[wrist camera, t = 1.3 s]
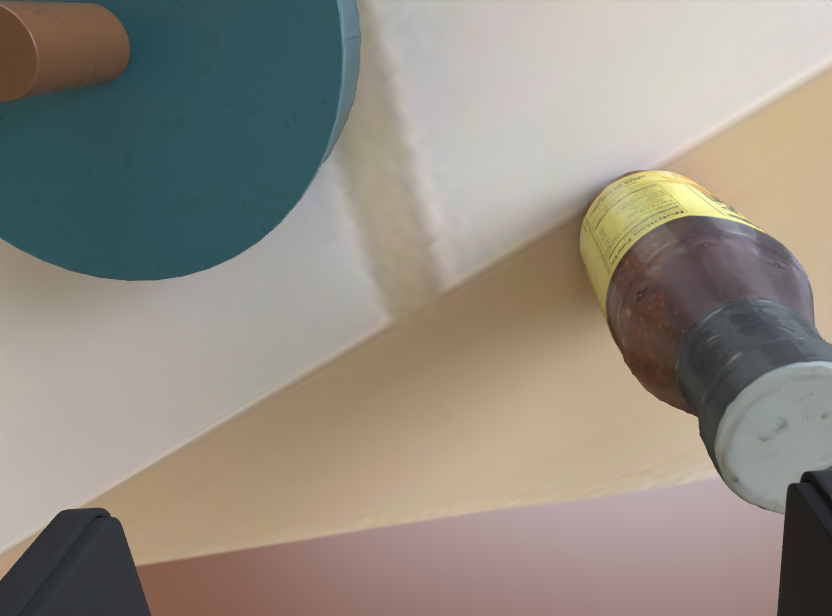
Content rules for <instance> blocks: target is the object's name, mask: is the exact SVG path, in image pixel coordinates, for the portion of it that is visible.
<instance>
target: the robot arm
mask: <svg viewBox="0 0 832 616" xmlns="http://www.w3.org/2000/svg"><path fill="white" fill-rule="evenodd" d="M0 616H151V614H150V610H149V608H148V605H147V601H146V599H145V595H144V592H143V589H142V586H141V583H140V580H139V577H138V574H137V571H136V567H135V564H134V561H133V558H132V555H131V552H130V549H129V546H128V543H127V540H126V537H125V534H124V531H123V528H122V525H121V523H120V521H119V520H118V519H117V518H115V517H111V516H110V513H109V512H108V511H107V510H106V509H103V508H85V509H67V510H63V511H61V512H60V513H59V514H57V515H56V516H55V517H54V519H53V520H52V521H51V522H50V523H49V524H48V526H47V527H46V528H45V529H44V530H43V531H42V533H41V534H40V535H39V536H38V537H37V539H36V540H35V541H34V542H33V543H32V544H31V546H30V547H29V548H28V549H27V550H26V551H25V553H24V554H23V555H22V556H21V557H20V558H19V560H18V561H17V562H16V563H15V564H14V565H13V567H12V568H11V569H10V570H9V571H8V572H7V574H6V575H5V576H4V577H3V578H2V580H1V581H0ZM777 616H832V470H818V471H806V472H804V473H803V474H802V476H801V479H800V483H791V484H789V486H788V488H787V494H786V507H785V520H784V534H783V546H782V561H781V573H780V587H779V599H778V613H777Z"/></svg>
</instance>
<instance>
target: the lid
mask: <svg viewBox="0 0 832 616" xmlns="http://www.w3.org/2000/svg"><path fill="white" fill-rule="evenodd" d="M345 60H346V42H345V30H344V18H343V10H342V5H341V0H0V238H1V239H3V240H5V241H6V242H8V243H9V244H11V245H13V246H14V247H16V248H18V249H20V250H22V251H24V252H26V253H28V254H30V255H32V256H34V257H36V258H38V259H40V260H42V261H45V262H48V263H51V264H53V265H56V266H59V267H62V268H64V269H67V270H70V271H74V272H78V273H82V274H87V275H91V276H95V277H99V278H108V279H118V280H127V281H139V280H161V279H168V278H174V277H181V276H186V275H189V274H193V273H196V272H199V271H203V270H206V269H210V268H212V267H214V266H216V265H218V264H221V263H223V262H225V261H227V260H229V259H232V258H234V257H236V256H237V255H239V254H240V253H242V252H244V251H245V250H247V249H248V248H250V247H251V246H253V245H254V244H256V243H258V242H259V241H260V240H261V239H262V238H264V237H265V236H266V235H267V234H268V233H269V232H270V231H272V230H273V229H274V228H275V227H276V226H277V225H278V224H280V223H281V222H282V221H283V219H284V218H285V217H286V216H287V215H288V214H289V212H290V211H291V210H292V209H293V208H294V207H295V205H296V204H297V203H298V202H299V201H300V200H301V198H302V197H303V195H304V194H305V192H306V190H307V189H308V187H309V186H310V184H311V183H312V181H313V180H314V178H315V176H316V175H317V173H318V171H319V169H320V166H321V164H322V162H323V160H324V158H325V156H326V153H327V151H328V149H329V147H330V144H331V141H332V137H333V134H334V131H335V127H336V124H337V121H338V118H339V113H340V107H341V101H342V95H343V89H344V84H345Z"/></svg>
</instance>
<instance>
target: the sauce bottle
mask: <svg viewBox="0 0 832 616" xmlns="http://www.w3.org/2000/svg"><path fill="white" fill-rule="evenodd" d="M580 252H581V257H582V259H583V261H584V263H585V264H584V266H585V269H586V272H587V274H588V277H589V280H590V282H591V285H592V287H593V290H594V292H595V295H596V297H597V300H598V302H599V305H600V307H601V310H602V312H603V315H604V317H605V320H606V323H607V325H608V327H609V330H610V332H611V335H612V337H613V339H614V341H615V343H616V345H617V346H618V348H619V349H620V351H621V353H622V355H623V358H624V362H625V363H626V364H627V365H628V367H629V368H630V370H631V372H632V374H633V375H634V376H635V377H636V378H637V379H638V381H639V382H640V383H641V384H642V386H643V387H644V388H645V389H646V390H647V391H648V392H650V393H651V394H653V395H654V396H655V397H656V398H658V399H659V400H660V401H663V402H666V403H667V404H669V405H671V406H673V407H675V408H678V409H680V410H683V411H685V412H687V413H689V414H693V415H694V416H697V417H698V419H699V430H700V436H701V438H702V440H703V442H704V444H705V446H706V449H707V452H708V454H709V456H710V458H711V460H712V462H713V464H714V466H715V468H716V470H717V472H718V473H719V475H720V476H721V478H722V479H723V481H724V482H725V484H726V485H727V486H728V487H729V488H730V489H731V490H732V491H733V492H734V493H735V494H736V495H738V496H739V497H740V498H741V499H743V500H745V501H746V502H748V503H750V504H753V505H756V506H758V507H760V508H762V509H765V510H769V511H773V512H777V513H780V514H784V515H785V507H786V494H787V488H788V486H789V484H791V483H800V479H801V476H802V474H803V473H804V472H806V471H818V470H832V344H829V343H827V342H826V341H825V340H824V339H822V337H821V336H820V334H819V332H818V331H817V329H816V327H815V323H814V305H813V294H812V290H811V285H810V282H809V280H808V277H807V274H806V272H805V271H804V269H803V267H802V266H801V264H800V263H799V261H798V260H797V259H796V258H795V256H794V255H793V254H792V253H791V252H790V251H789V250H788V249H787V248H786V247H785V246H784V245H783V244H781V243H780V242H779V241H777V240H776V239H775V238H773V237H772V236H771V235H769V234H768V233H766V232H765V231H763V230H762V229H760V228H759V227H757V226H756V225H754V224H753V223H752V222H750V221H749V220H748V219H746V218H745V217H743V216H742V215H741V214H740V213H738V212H737V211H735V210H734V209H733V208H732V207H730V206H728V205H726V204H725V203H724V202H722V201H720V200H719V199H718V198H716V197H715V196H714V195H712V194H711V193H709V192H708V191H707V190H705V189H704V188H702V187H701V186H699V185H698V184H696V183H695V182H693V181H692V180H690V179H688V178H686V177H684V176H682V175H679V174H676V173H673V172H669V171H660V170H656V171H652V170H648V171H633V172H628V173H626V174H624V175H622V176H621V177H619V178H617V179H615V180H613V181H612V182H611V183H610V184H608V185H606V186H605V187H604V188H603V189H602V190H601V191H600V192H599V193H598V194H597V195H596V196H595V197H594V198H593V199H592V200H591V201H590V202H589V204H588V205H587V207H586V208H585V210H584V217H583V221H582V224H581V233H580Z"/></svg>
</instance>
